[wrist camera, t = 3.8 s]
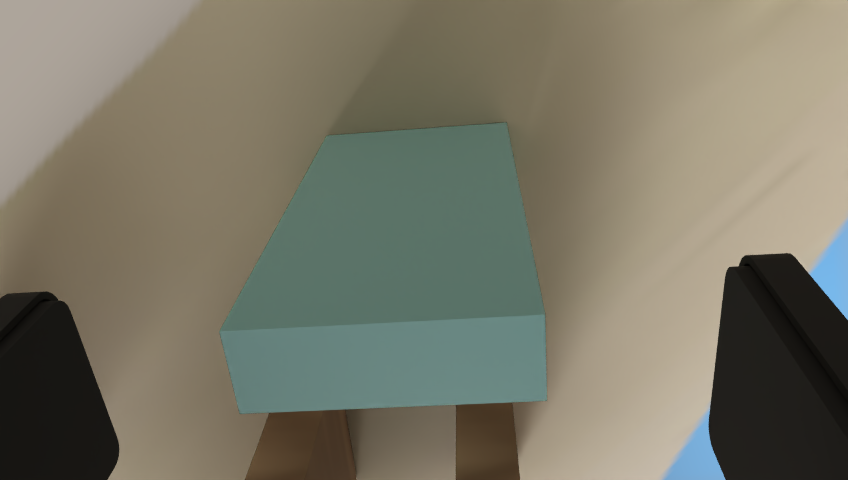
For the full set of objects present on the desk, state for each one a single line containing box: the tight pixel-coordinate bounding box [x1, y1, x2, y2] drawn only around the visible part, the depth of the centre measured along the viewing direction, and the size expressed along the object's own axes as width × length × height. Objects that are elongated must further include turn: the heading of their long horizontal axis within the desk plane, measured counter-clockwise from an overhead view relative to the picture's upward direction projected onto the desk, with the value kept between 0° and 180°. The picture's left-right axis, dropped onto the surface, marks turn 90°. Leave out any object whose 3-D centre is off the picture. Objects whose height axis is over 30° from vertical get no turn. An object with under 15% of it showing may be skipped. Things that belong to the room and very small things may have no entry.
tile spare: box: [219, 122, 547, 414], centre depth 16 cm, size 2×5×10 cm, turn 95°
